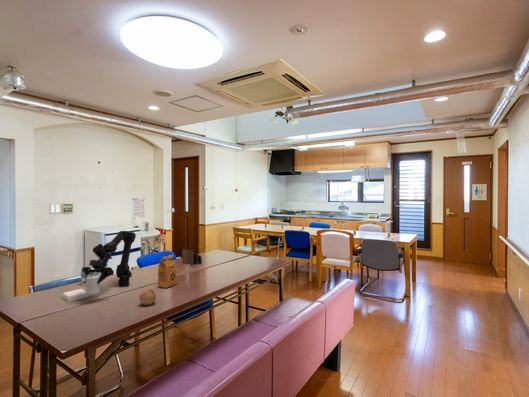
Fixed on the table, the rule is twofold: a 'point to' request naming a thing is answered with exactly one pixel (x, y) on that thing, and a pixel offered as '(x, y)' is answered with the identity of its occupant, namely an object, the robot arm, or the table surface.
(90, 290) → the can
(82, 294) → the stand
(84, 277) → the light bulb box
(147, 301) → the onion
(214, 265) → the table surface
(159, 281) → the coffee package
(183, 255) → the letter holder
